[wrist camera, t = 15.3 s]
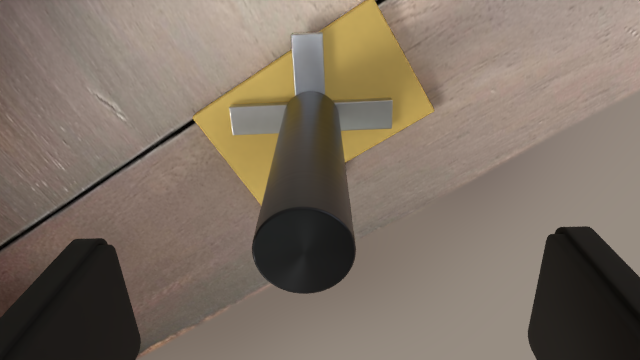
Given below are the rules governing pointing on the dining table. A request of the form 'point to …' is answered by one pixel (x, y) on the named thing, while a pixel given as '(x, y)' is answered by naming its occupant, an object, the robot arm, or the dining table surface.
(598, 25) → the dining table surface
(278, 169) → the black and grey rod
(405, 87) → the mat
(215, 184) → the dining table surface
